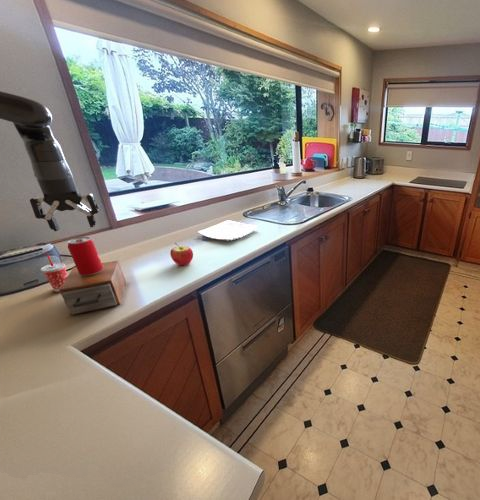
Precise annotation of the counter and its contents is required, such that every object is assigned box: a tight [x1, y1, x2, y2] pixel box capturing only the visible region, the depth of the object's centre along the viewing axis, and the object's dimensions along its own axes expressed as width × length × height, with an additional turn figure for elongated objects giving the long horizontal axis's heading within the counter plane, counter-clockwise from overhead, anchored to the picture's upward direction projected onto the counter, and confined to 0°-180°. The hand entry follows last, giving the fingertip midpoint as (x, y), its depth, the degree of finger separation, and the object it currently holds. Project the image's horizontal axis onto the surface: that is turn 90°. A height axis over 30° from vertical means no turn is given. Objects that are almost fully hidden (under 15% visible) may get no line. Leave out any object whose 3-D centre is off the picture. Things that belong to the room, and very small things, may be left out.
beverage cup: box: [40, 253, 69, 293], centre depth 99 cm, size 6×6×14 cm
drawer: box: [61, 283, 118, 315], centre depth 93 cm, size 19×11×8 cm, turn 30°
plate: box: [197, 219, 259, 242], centre depth 155 cm, size 24×24×3 cm
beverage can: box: [67, 236, 103, 276], centre depth 92 cm, size 6×6×12 cm
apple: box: [169, 242, 194, 266], centre depth 121 cm, size 8×8×10 cm
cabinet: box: [59, 260, 127, 316], centre depth 96 cm, size 16×13×10 cm
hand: (75, 228), depth 88 cm, fingers open, 8 cm apart
